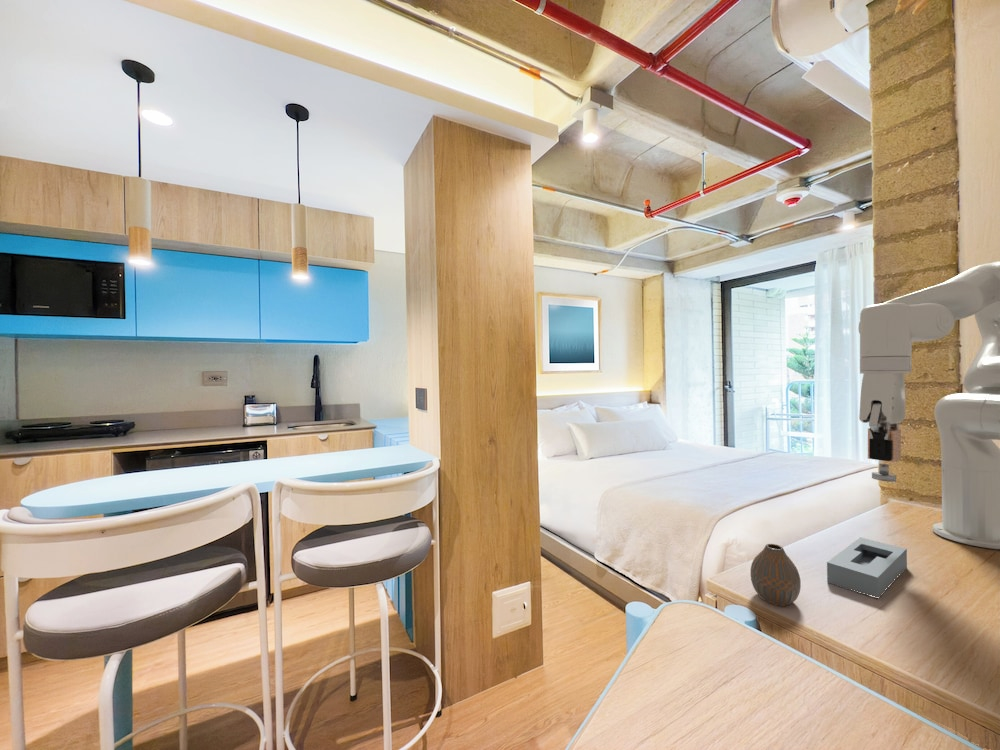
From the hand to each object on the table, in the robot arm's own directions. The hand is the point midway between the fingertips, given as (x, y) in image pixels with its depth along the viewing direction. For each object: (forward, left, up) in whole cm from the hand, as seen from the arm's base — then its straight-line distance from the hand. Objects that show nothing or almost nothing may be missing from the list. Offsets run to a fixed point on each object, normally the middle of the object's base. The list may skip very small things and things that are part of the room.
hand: (884, 457), depth 82 cm
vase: (+34, -6, -20) cm, 40 cm away
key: (0, 0, -4) cm, 4 cm away
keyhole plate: (+12, 0, -20) cm, 23 cm away
